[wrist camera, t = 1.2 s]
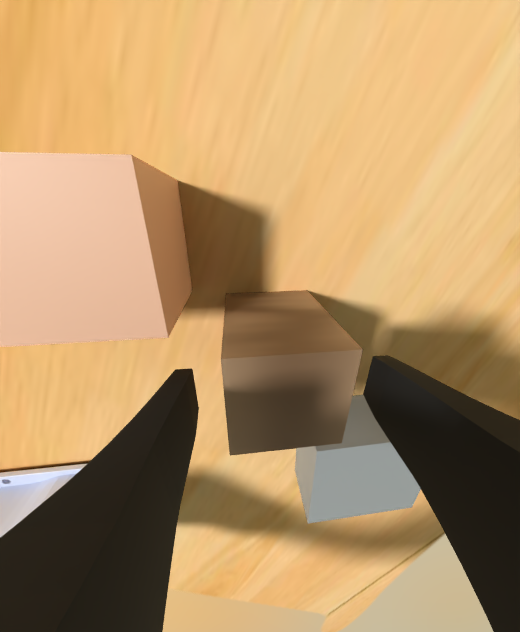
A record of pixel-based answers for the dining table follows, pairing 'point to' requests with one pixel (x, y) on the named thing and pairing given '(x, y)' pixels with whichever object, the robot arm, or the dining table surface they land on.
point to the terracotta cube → (89, 249)
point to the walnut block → (285, 372)
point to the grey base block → (354, 472)
